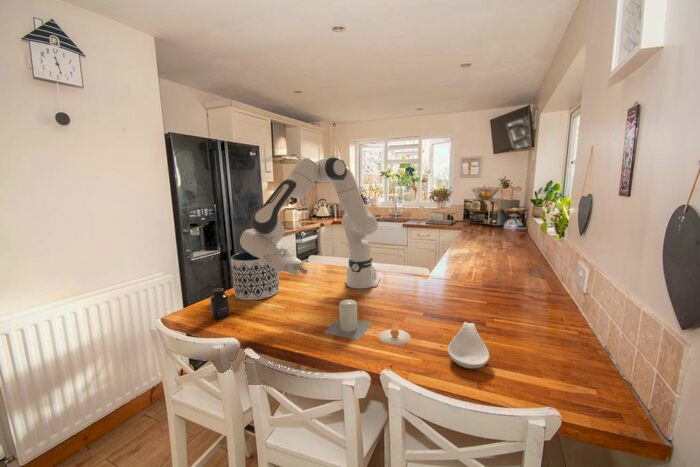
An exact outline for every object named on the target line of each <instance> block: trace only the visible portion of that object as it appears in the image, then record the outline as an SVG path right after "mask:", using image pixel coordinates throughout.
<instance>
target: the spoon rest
mask: <svg viewBox="0 0 700 467" xmlns="http://www.w3.org/2000/svg"><path fill="white" fill-rule="evenodd" d="M447 353H448V356H449V357H450V358H451V360H452V361H453V362H454V363H455V364H457V365H458V366H461V367H462V368H466V369H471V370H472V369H479V368H482V367H484V366H485V365H487V363H488V362H489V360H490V352H489V350H488V347H487V346H486V344H485V343H484V341H483V339H482V337H481V336H480V334H479V333H478V331H477V329H476V326H475V323H473V322H471V323H470V322H469V323H468V322H466V321H464V322H463V324H462V326H461V328H460V329H459V331H458V332H457V334H455V336H454V337H453V338H452V340H451V341H450V343H449V344H448V347H447Z"/></svg>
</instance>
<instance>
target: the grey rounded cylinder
mask: <svg viewBox="0 0 700 467" xmlns="http://www.w3.org/2000/svg"><path fill="white" fill-rule="evenodd" d="M338 311H339V318H340V328H341V330H342V331H346V332H351V331H355V330H356V329H357V328H358V321H357V320H358V303H357V301H356V300H354V299H343V300H341V301H340V302H339V304H338Z"/></svg>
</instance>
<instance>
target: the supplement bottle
mask: <svg viewBox="0 0 700 467" xmlns="http://www.w3.org/2000/svg"><path fill="white" fill-rule="evenodd" d="M211 293H212V296H211V297H210V299H209V300H210V308H211V310H210V311H211V318H212V319H213V320H224V319H226V318H228V317H229V316H230V307H229V297H228V295H227V294H226V291H225V288H223V287H218V288H214V289H212V291H211Z"/></svg>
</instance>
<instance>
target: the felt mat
mask: <svg viewBox="0 0 700 467" xmlns="http://www.w3.org/2000/svg"><path fill="white" fill-rule="evenodd" d="M357 321H358V328H357V329H356V330H355V331H351V332H346V331H342V330H341V328H340V317H339V318H338V319H337V320H336V321H334V323H333V324H331V325H330V326H329V327H328V328H327V329H326V330H325V331H324V332H323V334H328V335H333V336H335V337H342V338H346V339H350V340H356V341H359V340H360V339H361V338H362V336H364V334H365V333H366V332H367V330H369V328H370V327H371V326H372V325H373V322H371V321H370V322H369V321H363V320H358V319H357Z"/></svg>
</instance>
